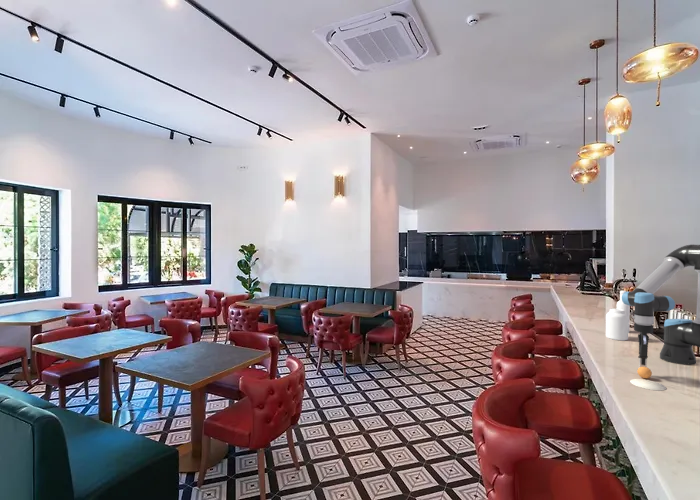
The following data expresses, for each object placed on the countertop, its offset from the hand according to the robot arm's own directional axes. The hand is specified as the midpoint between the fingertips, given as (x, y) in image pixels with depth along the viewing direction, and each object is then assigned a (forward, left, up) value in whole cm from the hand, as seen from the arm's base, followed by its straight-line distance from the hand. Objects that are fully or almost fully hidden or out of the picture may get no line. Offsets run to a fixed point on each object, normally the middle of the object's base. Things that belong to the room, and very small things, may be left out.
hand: (642, 370), depth 181 cm
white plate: (0, +14, -2) cm, 14 cm away
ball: (0, +5, +1) cm, 5 cm away
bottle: (+1, -100, -2) cm, 100 cm away
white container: (+6, -76, -2) cm, 76 cm away
